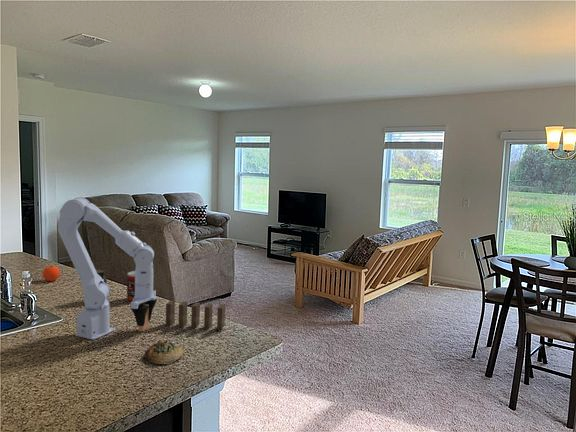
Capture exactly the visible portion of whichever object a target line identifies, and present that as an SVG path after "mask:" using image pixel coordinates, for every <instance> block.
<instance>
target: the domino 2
mask: <svg viewBox="0 0 576 432" xmlns="http://www.w3.org/2000/svg"><path fill="white" fill-rule="evenodd" d="M175 316H176V301H175V300H171V299H170V300H169V301H168V302H167V303H165V327H166V326H171V325H172V326H173V325H174V324H176V322H175V321H176V320H175V318H176V317H175ZM172 326H171V327H172Z"/></svg>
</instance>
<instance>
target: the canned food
mask: <svg viewBox="0 0 576 432" xmlns="http://www.w3.org/2000/svg"><path fill="white" fill-rule="evenodd" d="M126 274H127V275H126V299H127V301H128V302H130V303H131V302H132V301H133V299H134V296H135V270H133V271H129V272H127V273H126Z"/></svg>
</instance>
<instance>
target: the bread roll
mask: <svg viewBox="0 0 576 432" xmlns="http://www.w3.org/2000/svg"><path fill="white" fill-rule="evenodd" d="M184 354H185V351H184V349H183V348H182V347H180V346H178V345H177V344H176V343H175V342H173V341H169V340H168V339H167V340H165V341H161V340H159V341H157V342H155V343H153V344H151V345H150V347H149V348H147V349H146V350H145V353H144V359H145V358H146V359H145V361H146V362H148V361H149V363H152V364H153V363H155V364H154V365H157V364H164V363H171V362H174V361H176V360H178V359H179V358H180V357H181V358H182V356H183V355H184ZM181 358H180V359H181ZM180 359H179V360H180ZM179 360H178V361H179ZM176 362H177V361H176ZM174 363H175V362H174ZM171 364H172V363H171Z"/></svg>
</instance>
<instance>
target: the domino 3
mask: <svg viewBox="0 0 576 432" xmlns="http://www.w3.org/2000/svg"><path fill="white" fill-rule="evenodd" d="M186 325H188V301H185V300H184V301H183V300H182V302H180V304H179V305H178V328H179V327H184V326H185V327H186ZM185 327H184V328H185Z"/></svg>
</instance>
